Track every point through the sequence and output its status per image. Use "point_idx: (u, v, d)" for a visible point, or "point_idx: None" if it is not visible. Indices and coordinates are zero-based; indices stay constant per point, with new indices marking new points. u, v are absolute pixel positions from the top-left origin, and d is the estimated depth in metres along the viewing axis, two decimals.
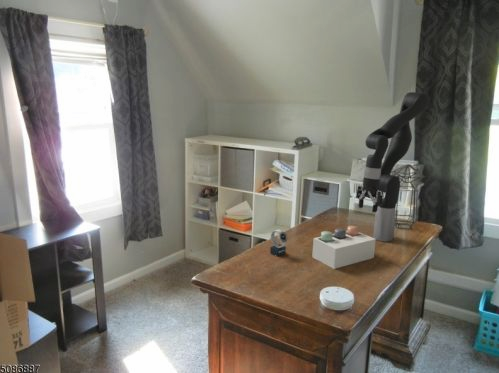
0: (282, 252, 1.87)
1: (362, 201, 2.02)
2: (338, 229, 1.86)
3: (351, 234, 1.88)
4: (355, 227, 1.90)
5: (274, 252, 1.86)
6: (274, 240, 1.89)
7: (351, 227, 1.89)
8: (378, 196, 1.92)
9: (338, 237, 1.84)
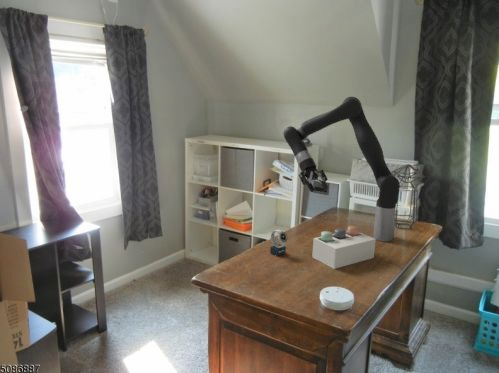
0: (282, 252, 1.87)
1: (323, 183, 1.97)
2: (338, 229, 1.86)
3: (351, 234, 1.88)
4: (355, 227, 1.90)
5: (274, 252, 1.86)
6: (274, 240, 1.89)
7: (351, 227, 1.89)
8: None
9: (338, 237, 1.84)
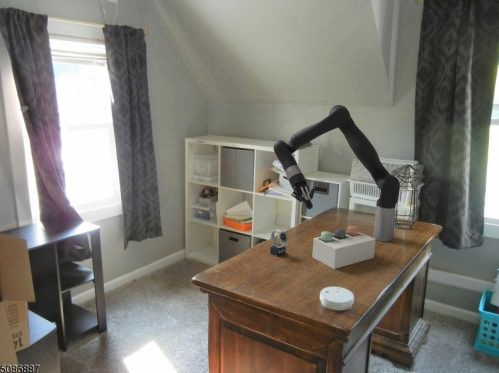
0: (282, 252, 1.87)
1: None
2: (338, 229, 1.86)
3: (351, 234, 1.88)
4: (355, 227, 1.90)
5: (274, 252, 1.86)
6: (274, 240, 1.89)
7: (351, 227, 1.89)
8: None
9: (338, 237, 1.84)
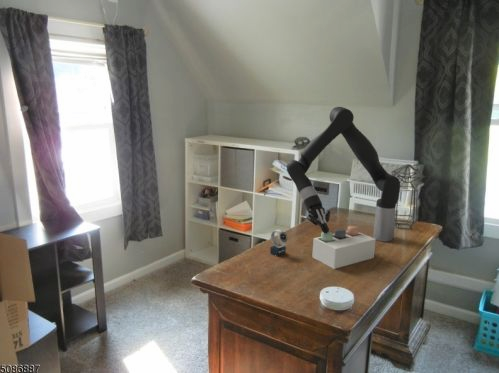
0: (282, 252, 1.87)
1: None
2: (338, 229, 1.86)
3: (351, 234, 1.88)
4: (355, 227, 1.90)
5: (274, 252, 1.86)
6: (274, 240, 1.89)
7: (351, 227, 1.89)
8: None
9: (338, 237, 1.84)
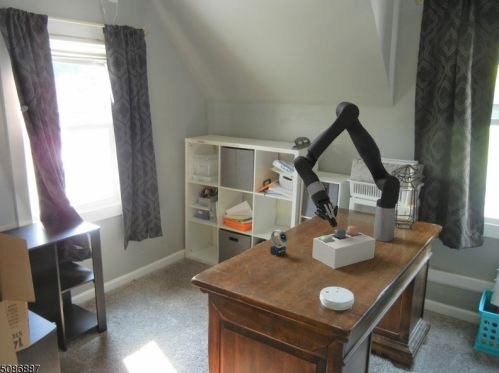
0: (282, 252, 1.87)
1: None
2: (338, 229, 1.86)
3: (351, 234, 1.88)
4: (355, 227, 1.90)
5: (274, 252, 1.86)
6: (274, 240, 1.89)
7: (351, 227, 1.89)
8: None
9: (338, 237, 1.84)
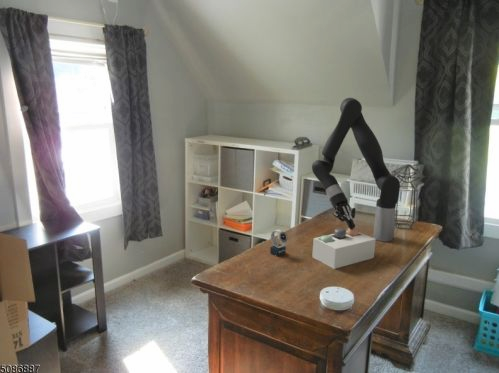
0: (282, 252, 1.87)
1: None
2: (338, 229, 1.86)
3: None
4: (354, 229, 1.90)
5: (274, 252, 1.86)
6: (274, 240, 1.89)
7: (350, 229, 1.89)
8: None
9: (338, 237, 1.84)
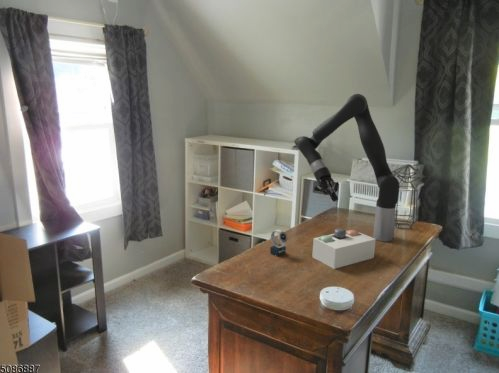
0: (282, 252, 1.87)
1: None
2: (338, 229, 1.86)
3: None
4: (354, 231, 1.90)
5: (274, 252, 1.86)
6: (274, 240, 1.89)
7: (350, 231, 1.89)
8: None
9: (338, 237, 1.84)
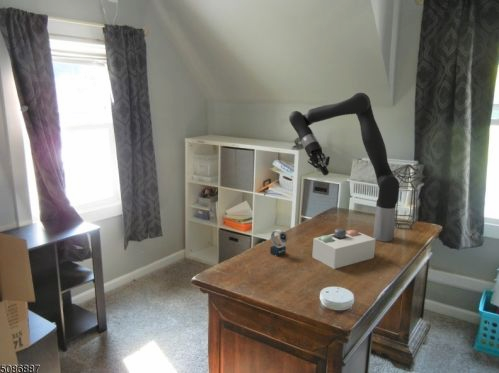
0: (282, 252, 1.87)
1: None
2: (338, 229, 1.86)
3: None
4: (354, 231, 1.90)
5: (274, 252, 1.86)
6: (274, 240, 1.89)
7: (350, 231, 1.89)
8: None
9: (338, 237, 1.84)
